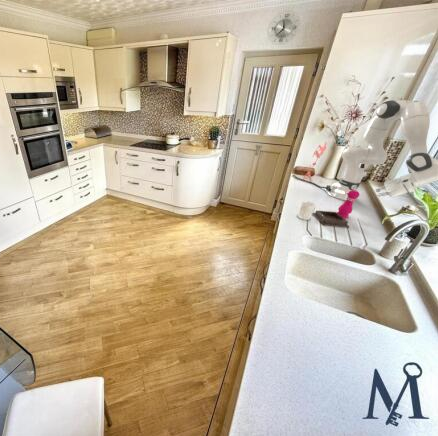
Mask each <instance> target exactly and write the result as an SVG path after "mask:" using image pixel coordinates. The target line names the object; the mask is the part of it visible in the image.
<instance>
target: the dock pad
mask: <svg viewBox="0 0 438 436" xmlns="http://www.w3.org/2000/svg"><path fill="white" fill-rule="evenodd" d="M337 212H338V211H327V210H316V209H315V212H313V213H312V215H311V216H313V217H315V219H316V220H317V221H318V222H319V223H320V224H322V226H328V227H337V228H338V227H339V228H350V225H349V220H347V219H346V218H343V217H342V216H341V215H339V214H338V213H337Z"/></svg>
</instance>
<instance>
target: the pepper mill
mask: <svg viewBox="0 0 438 436" xmlns="http://www.w3.org/2000/svg"><path fill="white" fill-rule="evenodd" d="M357 190H359V188H358V189H354V190H351V191H349V192H348V193H347V195H348V196H347V198H346V200H344V202H343V203H341V205H339V207H338V209H337V210H338V211H336V212H337V213H338V214H339V215H341V216H342V217H343V218H344V219H346V218H348V217H349V215H350V214H351V213H352V212H353V204H354V202H356V200H357V198H359V197H360V192H359V191H357Z"/></svg>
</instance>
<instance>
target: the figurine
mask: <svg viewBox="0 0 438 436" xmlns="http://www.w3.org/2000/svg"><path fill="white" fill-rule="evenodd" d="M327 144H328V142H327V141H324V143H323V145H321V144H319V145H318V147H317V148H316V149H315V151H314V152H313V155H312V157H314V156H315V157H316V160H315V162H312V164H310V165H309V168H310V169H309V171H307V173H306V174H305V175H303V178H302V179H303V180H306V179H307V177H308V179H309V182H312V180H311V175H312V174H311V171H312V169H313V167H312V166H316V165H317V161H318V160H319V159H321V158H320V157H321V156H323V153H324V152H325V150H326V148H327ZM319 151H320V152H319ZM314 178H316V179H317V177H314ZM303 180H302V181H303ZM318 180H319V182H322V180H320V178H318Z"/></svg>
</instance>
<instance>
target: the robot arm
mask: <svg viewBox="0 0 438 436" xmlns="http://www.w3.org/2000/svg"><path fill="white" fill-rule="evenodd" d="M430 117H431V116H430V113H429V109H428V106H427V105H426V103H425V102H424V101H421V100H420V101H419V100H410V99H409V100H408V99H402V100H401V99H400V100H398V99H397V100H393V99H390V100H386V101H383V102H382V103H380V104H379V106H378V107H377V109H376V113H375V116H373V118H372V119H371V121H370V123H369V125H368V127H367V128H366V130H365V133H364V135H363V136H362V137H363V141H364V142H365V143H367V144H368V146H367V147H360V146H350V147H349V146H348V147H347V148H346V149H344V150H343V152H342V153H341V158H342V160H343V162H344V163H345V164H346V169H345V172H344V175H343V177H341V178H339V181H338V182H335V183H332V184H331V185H328V184H327V185H326V186H320V185H318V184H316V183H314V182H312V181H310V180H306V179H304V178H300V177H297V176H296V175H295V174H292V175H291V177H294V178H295V179H297V180H300V181H303V182H305V183H309V184H312V185H315V186H316V187H318V188H320V189H324V191H325V192H326V193H327V194H328V196H329V197H330V198H331V197H332V198H335V199H338V200H342V201H346V198H347V196H348V195H347V193H348V192H349V191H351V190H354V189H358V190H359V187H360V186H361V182H362V180H363V178H364V176H365V173H366V172H365V170H364V169H363V168H361V167H360V165H361V164H363V165H370V166H371V165H382V164H383V163H385V162H386V160H387V159H388V153H387V151H386V150H385V148H384V141H385V138H386V136H387V134H388V132H389V130H390V128H391V127H392V125H393V123H394V122H395V121H400V127H401V131H402V133H403V136H404V137H405V139H406V140H407V143H408V144H409V148H410V155H409V156H408V157H407V159H406V161H405V165H406V167H407V171H408V174H407V173H406V174H405V175H402V176H399V177H398V178H397V177H396V178H394V179H390V180H387V181H385V182H383V185H381V186H380V187H378V188H376V189H375V192H376V193H377V194H376V196H377V197H378V198H380V197H385V196H389V197H390V198H394V197H398V196H401V195H405V194H407V193H413V192H415V190H416V189H417V188H420V187H422V186H424V185H428V184H433V183H435V182H437V181H438V159H437V158H435V157H433V156H431V155H430V154H428V146H427V141H428V140H427V139H428V136H429V135H428V134H429V130H430V124H431V123H430V122H431V121H430V120H431V119H430ZM303 179H304V180H303ZM358 190H357V191H358ZM381 191H384V192H381ZM358 192H359V191H358Z"/></svg>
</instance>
